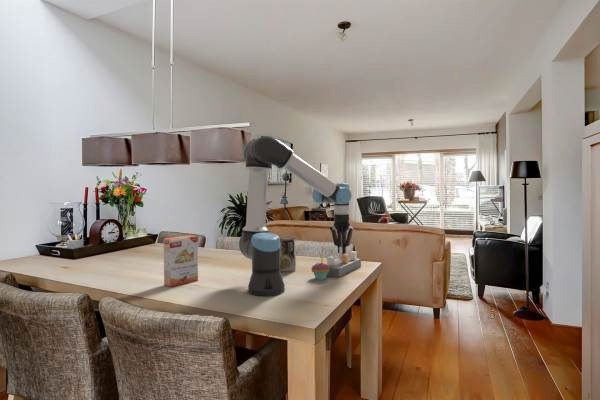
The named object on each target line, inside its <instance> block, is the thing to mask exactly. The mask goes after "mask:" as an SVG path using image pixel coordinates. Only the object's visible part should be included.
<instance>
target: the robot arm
mask: <svg viewBox="0 0 600 400" xmlns="http://www.w3.org/2000/svg"><path fill="white" fill-rule="evenodd" d="M242 152H243V153H242V154H243V159H244V160H245V169H246V170H247V172H248V179H247V180H248V181H247V182H248V183H247V199H246V200H247V203H246V218H245V220H246V222H245V226H244V227H243V228H242V230H241V231H242V233H241V236H240V238H239V240H238V248H239V252H240V253H241V254H242V255H243V256H244V257H245V258H247V259H250V260H251V269H252V270H251V276H250V279H249V283H248V285H247V292H248V293H249V294H250V295H253V296H259V297H270V296H271V297H272V296H277V295H281V294H282V293H284V292H285V289H286V288H285V287H286V286H285V283H284V280H283V276H282V273H281V271H280V239H279V238H280V236H279V235H278V234H275V233H272V232H271V233H270V232H269V229H268V227H267V226H266V220H267V219H266V218H267V201H268V200H267V199H268V197H267V196H268V183H269V182H268V179H269V173H270V171H271V170H273V168H272V167H273V166H274V167H276V168H277V169H279V170H282V169H283V170H285V171H286V172H289V174H292V176H295V177H296V178H297V179H299V180H300V181H302V182H303V183H304V184H306V185H308V186H310V187H311V188H313V190H312V193H311V194H312V195H311V197H312V200H313V201H314V203H316V204H317V203H319V204H324V203H326V204H334V206H333V207H334V208H333V209H334V210H333V211H334V213H333V214H334V215H333V218H334V219H333V220H334V223H333V225H332V226H330V227H329V229H330V231H331V235H332V239H333V240H332V241H333V245H334V246H336V247H337V253H338V258H339V259H338V260H342V255H343V254H347V251H346V250H347V247H349V246H350V243H351V240H352V235H353V233H354V231H355V228H354V227H352V226H351V225H350V214H349V213H350V202H351V199H352V191H351V190H350V185H349V183H346V182H342V183H336V182H334V180H333V181H332V180H331V179H330V178H329V177H327V176H326V175H324V174H323V173H321V171H319V170H317V169H316V168H314V167H313V166H312V165H311V164H309V163H307V162H306V161H304V160H303V159H302V158H300V157H299V156H298V155H296V154H295V153H294V151H293V149H292V148H290V147H289V146H287V145H286V144H284V143H283V142H282V141H280V140H279V139H278V138H275V137H273V136H270V135H263V136H260V137H258V138H253V139H251V140H250V141H248V142H247V143H246V144H245V146H244V148H243V151H242Z"/></svg>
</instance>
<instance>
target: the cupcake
mask: <svg viewBox="0 0 600 400" xmlns="http://www.w3.org/2000/svg"><path fill="white" fill-rule="evenodd" d="M323 253H324V252H322V254H321V261H320V263H319V262H318V263H315V264H314V265H312V267H311V273H313V275H314V278H315V279H316V280H318V281H320V280H321V281H322V280H326V278H327V273H328V272H329V270H330V269H329V268H330V267H329V266H328V265H327V263H323V262H324V254H323Z"/></svg>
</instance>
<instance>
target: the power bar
mask: <svg viewBox="0 0 600 400" xmlns="http://www.w3.org/2000/svg"><path fill="white" fill-rule="evenodd" d="M329 267H330V268H329V269H330V270H329V272H328V273H327V275H326V277H327V276H328V277H334V278H341V277H343V276H345V275H347V274H349V273H351V272H352V271H354V270H356V269H358V268H360V267H362V259H361V258H358V257H357V259H356V260H350V257H349V262H348V263H342V260H339V259H337V260H334V265H333V266H329Z"/></svg>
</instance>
